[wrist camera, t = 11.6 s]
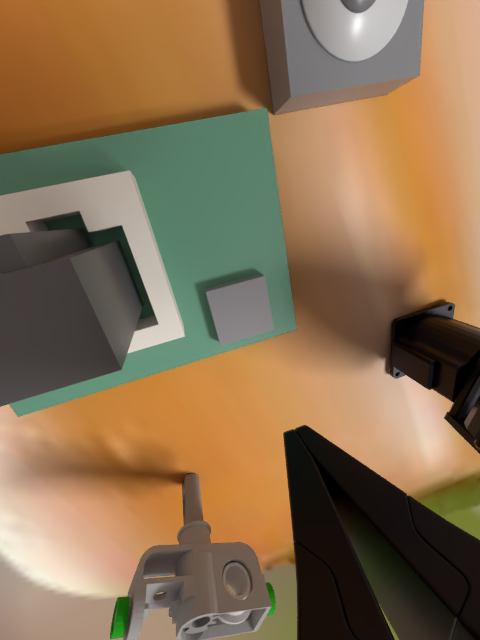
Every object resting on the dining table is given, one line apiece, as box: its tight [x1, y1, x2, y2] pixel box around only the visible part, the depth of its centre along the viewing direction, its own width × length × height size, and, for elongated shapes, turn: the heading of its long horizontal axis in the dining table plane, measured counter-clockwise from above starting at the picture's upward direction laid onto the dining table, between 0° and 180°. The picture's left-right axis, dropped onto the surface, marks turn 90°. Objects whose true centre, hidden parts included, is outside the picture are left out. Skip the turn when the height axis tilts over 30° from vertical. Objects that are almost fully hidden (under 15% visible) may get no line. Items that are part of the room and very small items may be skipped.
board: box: [0, 108, 297, 417], centre depth 15 cm, size 20×14×4 cm
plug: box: [0, 228, 144, 407], centre depth 12 cm, size 4×5×8 cm
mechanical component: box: [110, 473, 275, 640], centre depth 20 cm, size 3×10×10 cm, turn 70°
